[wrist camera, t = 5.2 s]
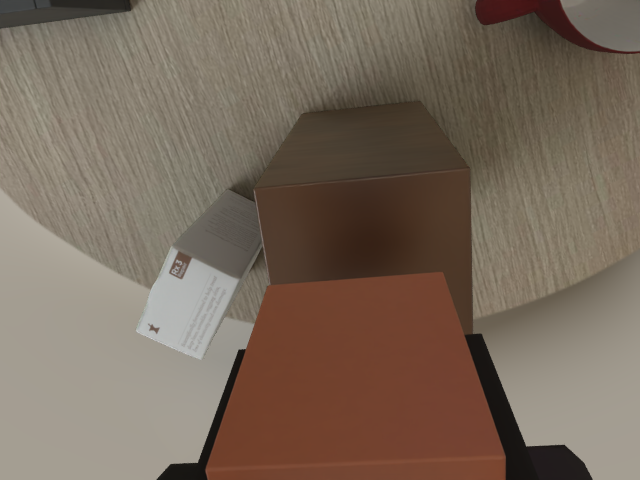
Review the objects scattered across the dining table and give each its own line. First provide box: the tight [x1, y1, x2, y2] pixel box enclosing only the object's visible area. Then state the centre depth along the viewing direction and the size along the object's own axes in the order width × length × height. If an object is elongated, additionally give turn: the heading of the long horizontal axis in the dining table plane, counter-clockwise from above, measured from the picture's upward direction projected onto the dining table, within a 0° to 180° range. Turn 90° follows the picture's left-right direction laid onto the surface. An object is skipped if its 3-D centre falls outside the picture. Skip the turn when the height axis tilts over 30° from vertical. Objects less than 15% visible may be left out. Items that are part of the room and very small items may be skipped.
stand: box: [253, 101, 473, 335], centre depth 30 cm, size 8×8×18 cm
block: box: [206, 272, 506, 480], centre depth 13 cm, size 5×5×7 cm
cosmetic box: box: [136, 189, 262, 360], centre depth 35 cm, size 6×4×12 cm
